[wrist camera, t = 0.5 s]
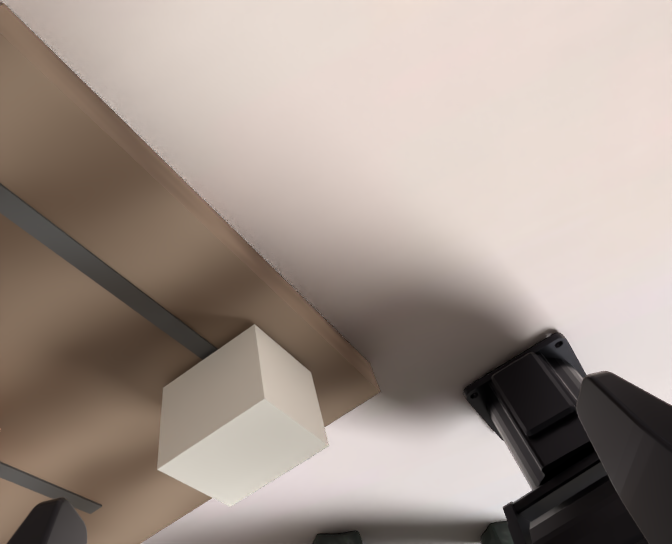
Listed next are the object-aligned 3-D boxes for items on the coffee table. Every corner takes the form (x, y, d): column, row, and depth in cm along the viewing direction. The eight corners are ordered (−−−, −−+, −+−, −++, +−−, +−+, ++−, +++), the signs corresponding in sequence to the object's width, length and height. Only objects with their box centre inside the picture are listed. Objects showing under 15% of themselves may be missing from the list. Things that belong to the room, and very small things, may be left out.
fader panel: (369, 363, 27) (381, 393, 26) (95, 540, 31) (90, 576, 29) (3, 3, 15) (-21, 15, 13) (-376, 363, 19) (-433, 408, 17)
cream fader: (311, 372, 23) (329, 446, 20) (226, 428, 24) (230, 507, 21) (254, 324, 21) (264, 398, 18) (163, 387, 22) (157, 469, 19)
